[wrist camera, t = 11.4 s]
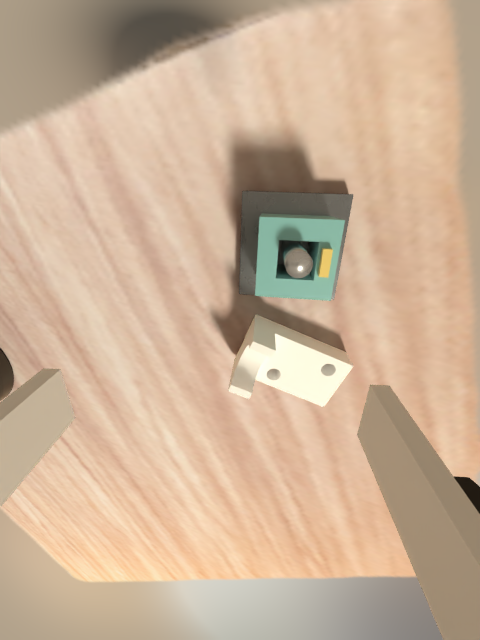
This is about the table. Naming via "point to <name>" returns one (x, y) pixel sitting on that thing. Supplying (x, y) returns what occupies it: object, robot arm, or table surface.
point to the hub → (322, 250)
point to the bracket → (288, 363)
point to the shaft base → (284, 207)
